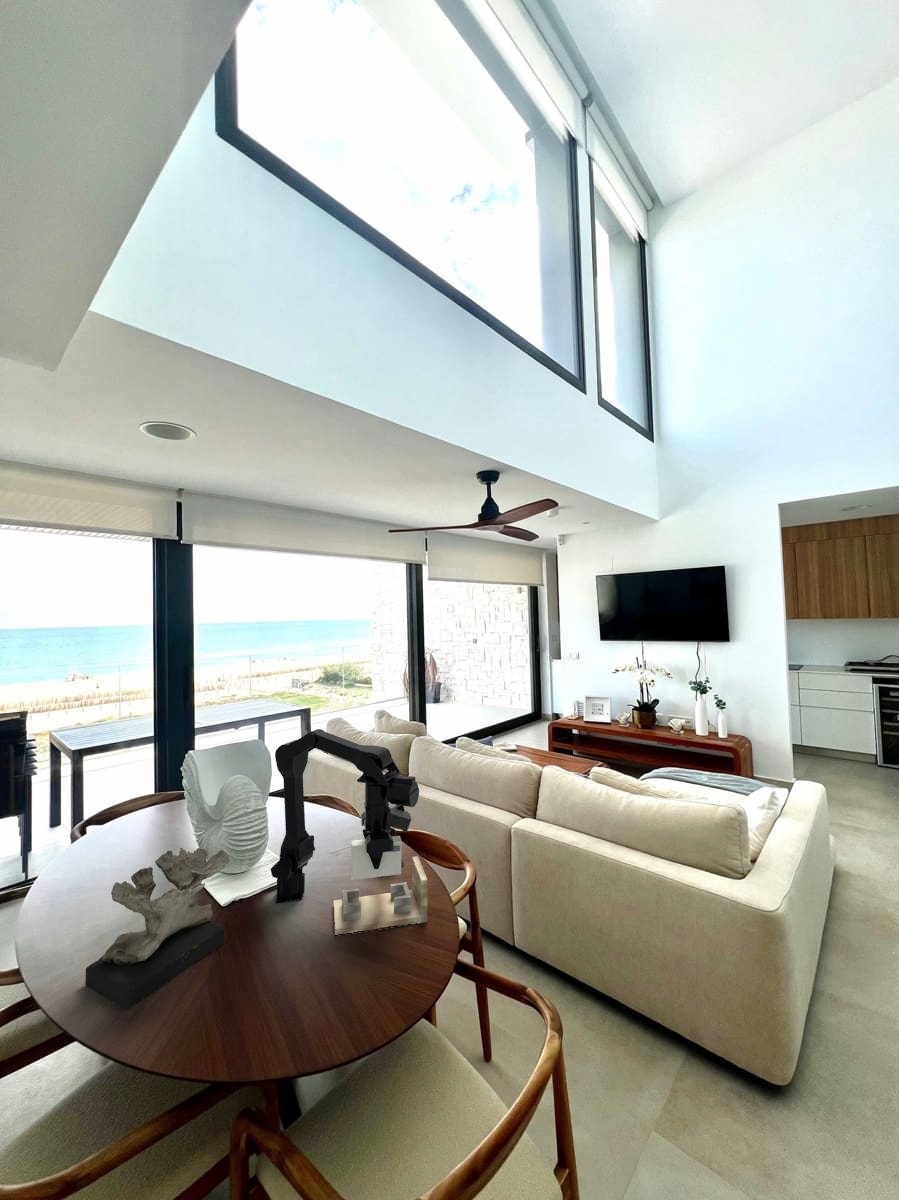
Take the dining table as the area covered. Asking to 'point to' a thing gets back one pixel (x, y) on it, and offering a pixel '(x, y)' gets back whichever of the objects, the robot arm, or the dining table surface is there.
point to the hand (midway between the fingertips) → (375, 865)
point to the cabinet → (383, 905)
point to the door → (364, 866)
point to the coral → (159, 929)
